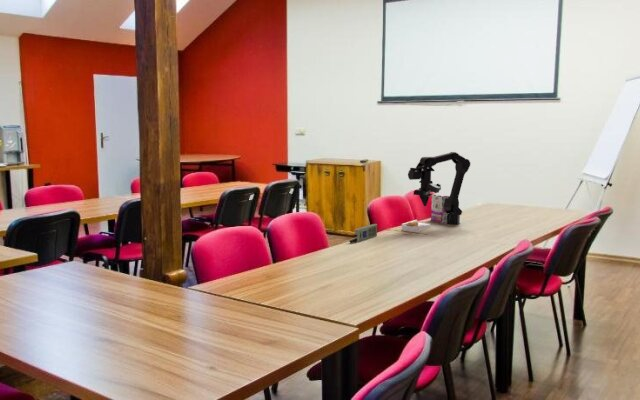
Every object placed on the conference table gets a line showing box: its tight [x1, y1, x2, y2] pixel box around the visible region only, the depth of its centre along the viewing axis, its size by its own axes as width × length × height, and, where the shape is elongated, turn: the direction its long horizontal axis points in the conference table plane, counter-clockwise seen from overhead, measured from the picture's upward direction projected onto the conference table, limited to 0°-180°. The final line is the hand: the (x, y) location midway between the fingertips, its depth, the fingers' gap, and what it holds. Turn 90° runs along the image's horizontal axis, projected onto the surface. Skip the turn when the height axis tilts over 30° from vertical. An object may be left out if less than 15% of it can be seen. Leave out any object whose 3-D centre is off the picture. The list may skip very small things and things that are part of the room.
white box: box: [401, 219, 431, 233], centre depth 334 cm, size 10×18×4 cm, turn 144°
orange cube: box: [407, 221, 419, 226], centre depth 330 cm, size 4×4×4 cm
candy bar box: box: [430, 193, 450, 224], centre depth 357 cm, size 11×5×16 cm, turn 26°
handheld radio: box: [349, 223, 378, 244], centre depth 304 cm, size 7×3×25 cm
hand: (425, 206), depth 340 cm, fingers closed
